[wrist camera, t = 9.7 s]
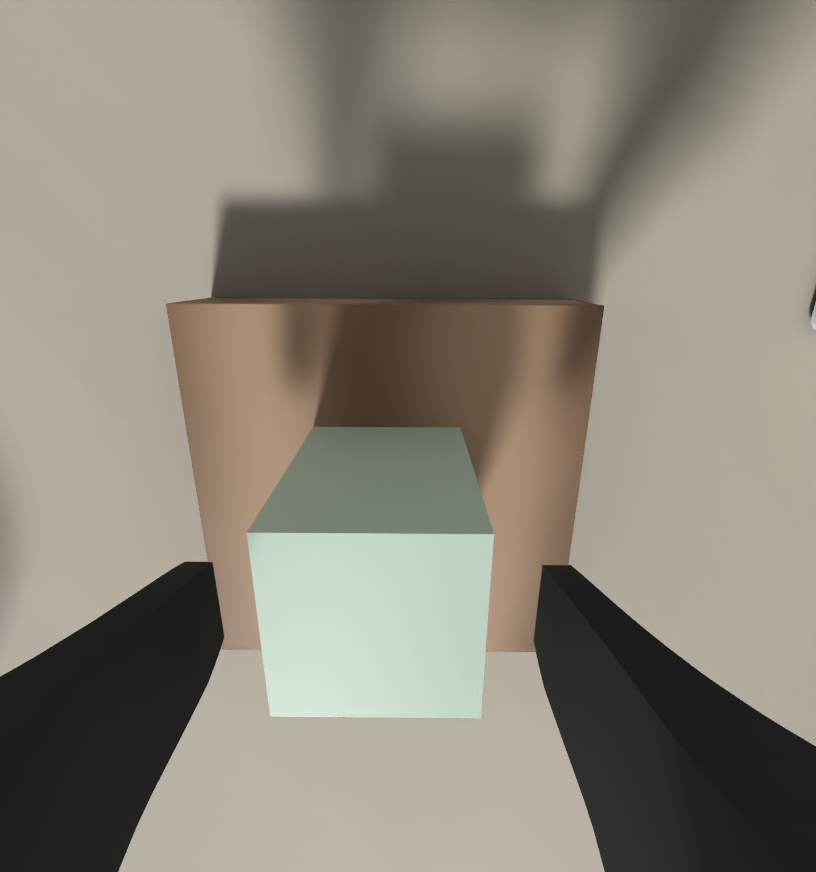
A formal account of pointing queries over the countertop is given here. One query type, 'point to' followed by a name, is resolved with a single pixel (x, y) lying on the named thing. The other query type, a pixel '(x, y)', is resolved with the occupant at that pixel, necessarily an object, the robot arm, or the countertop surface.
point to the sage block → (374, 576)
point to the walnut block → (390, 418)
